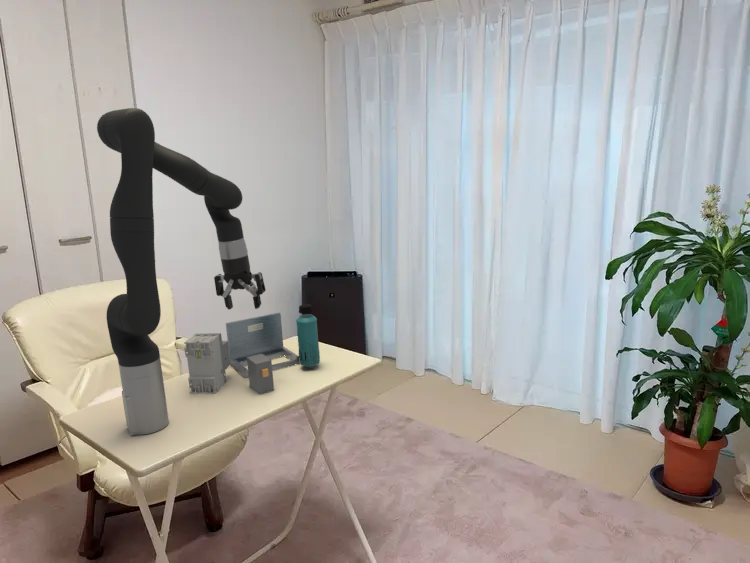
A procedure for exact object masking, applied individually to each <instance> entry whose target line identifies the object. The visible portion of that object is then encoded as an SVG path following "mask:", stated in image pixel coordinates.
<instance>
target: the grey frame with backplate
mask: <svg viewBox="0 0 750 563" xmlns="http://www.w3.org/2000/svg"><path fill="white" fill-rule="evenodd" d="M281 314H282V313H281V312H275V313H270V314H265V315H261V316H255V317H248V318H245V319H239V320H234V321H230V322H225V329H226V338H227V340H226V341H228V346H229V355H230V365H229V367H230V366H231V367H232V368H233V369H234V370H235V371H236V372H238V374H240V375H241V376H242V377H243V378H245V379H246V378H249V374H248V364H247V357H249V356H254V355H258V354H263V355H265V356H266V357H267V358H269V359H272V360H274V359H273V358H276V359H278V358H277V357H280V356H284V355H285V356H286V357H287V358H286V357H285V356H284V357H285V358H286V359H288V358H289V359H290V360H289V359H288V360H287V361H283V362H279V363H274V364H272V372H273V370H274V371H278V370H281V369H284V367H285V368H287V367H288V366H289V367H293V366H296V365H295V364H297V365H301V364H300V361H299V360H300V358H299V354H296V353H294V352H293V351H291V350H290V349H288V348H287V347H285V346H284V341H283V340H284V337H283V327H282V315H281ZM280 358H281V357H280ZM292 365H293V366H292ZM246 366H247V367H246ZM280 368H281V369H280ZM277 369H278V370H277Z"/></svg>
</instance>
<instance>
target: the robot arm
mask: <svg viewBox="0 0 750 563" xmlns="http://www.w3.org/2000/svg"><path fill="white" fill-rule="evenodd" d="M96 132H97V135H98V137H99V139H100V141H101V142H102V143H103V144H104V145H105V146H106V147H108V148H109V149H111V150H113V151H115V152H117V153H120V158H121V159H120V160H121V170H120V171H121V172H120V175H119V176H120V177H119V181H118V184H117V186H116V189H115V191H114V194H113V196H112V199H111V203H110V208H109V231H110V239H111V244H112V245H113V248H114V251H115V254H116V256H117V259H118V260H119V262H120V264H121V266H122V269H123V272H124V277H125V282H126V293H121V294H118V295H116V296H115V297H113V298H112V299H111V300H110V301H109V304H108V306H107V309H106V324H107V329H108V330H107V331H108V334H109V340H110V343H111V347H112V348H111V349H112V351H113V353H114V355H115V356H116V358H117V361H118V370H119V376H120V382H121V383H120V384H121V389H122V391H121V397H122V403H123V410H124V416H125V421H126V422H125V423H126V427H127V430H128V431H129V434H130V436H131V437H132V436H136V435H148V434H153V433H156V432H159V431H161V430H163V429H164V428H166V427H167V426H168V425H169V423H170V420H169V419H170V418H169V413H168V406H167V404H168V403H167V399H166V390H165V382H164V377H163V376H164V375H163V370H162V363H161V361H162V360H161V354H160V349H159V346H158V344H157V343H155V342H154V341H153V340H152V339H151V337H150V335H151V334H152V333H154V332H155V330H156V329H157V328H158V326H159V324H160V321H161V315H162V314H161V313H162V311H161V302H160V295H159V288H158V283H157V282H158V280H157V274H156V273H157V272H156V253H155V251H156V249H155V218H154V214H155V213H154V200H153V197H154V196H153V195H154V194H153V191H154V190H153V188H154V185H153V171H154V170H156V171H157V172H159V173H161V174H162V175H164V176H166V177H168V178H169V179H171V180H173V182H174V181H175V182H176V183H178V184H179V185H181V186H182V187H183V188H185V189H187V190H188V191H190V192H192V193H194V194H195V195H198V196H202V197H203V199H204V201H203V202H204V205H205V206H206V207H205V208H206V210H207V211H208V214H209V216H210V218H211V220H212V222H213V224H214V227H215V231H216V238H217V241H218V242H217V243H218V251H219V256H220V262H221V267H222V272H223V274H221V273H218V274H217V275H215V276H214V277H213V280H214V287H215V292H216V295H217V296H218V297H219V296H220V297H222V298H223V300H224V304H225V308H226V309H227V310H232V309H233V307H234V305H233V299H232V295H230V294H231V293H232V291H233V290H234V291H235V290H246V292H249V293H250V294H251V295H252V300H253V305H254V309H255V310H258V309H259V308H261V305H262V299H261V295H263V294H264V293H265V292H266V290H267V288H266V286H265V282H264V277H263V273H262V272H261V271H259V272H257V273H252V272H251V265H250V260H249V259H250V258H249V254H248V248H247V244H246V240H245V236H244V231H243V225H242V221H241V219H240V218H239V217H236V216H234V215H233V214H231V212H230V210H235V209H238V208H239V207H240V206H241V204H242V202H243V194H242V191H241V188H239V186H237V185H236V184H235V183H234V182H232V181H231V180H228V179H226V178H224V177H222V176H221V175H218V174H216V173H213V172H211V171H210V170H208V169H207V168H206V167H204V166H203V165H201V164H199V163H198V162H197V161H195V160H194V159H193V158H191V157H188V156H187V155H184V154H183V153H180V152H179V151H178V152H177V151H175V150H173V149H171V148H169V147H166V146H163V145H161V144H160V143H158V142H156V141H155V140H156V134H155V133H156V132H155V127H154V123H153V120H152V119H151V117H150V115H149V114H148V113H147V112H146V111H144V110H143V109H141V108H138V107H128V108H122V109H115V110H111V111H108V112H105V113H103V114H102V115H101V116H100V117H99V118H98V121H97V124H96ZM153 169H154V170H153ZM252 279H253V281H254V282H255V283H254V282H253V281H252ZM224 282H226V283H227V285H226V287H224Z"/></svg>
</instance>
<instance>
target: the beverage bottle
mask: <svg viewBox="0 0 750 563" xmlns="http://www.w3.org/2000/svg"><path fill="white" fill-rule="evenodd" d="M298 313H299V314H301V315H300V316H298V317H297V318H296V334H297V336H296V337H297V341H298V342H297V344H298V345H297V346H298V356H299V359H300V360H299V361H300V364H299V365H301V366H302V367H314V366H315V367H316V366H318V365H319V364H320V362H321V356H320V355H321V354H320V353H321V352H320V342H319V335H318V323H317V322H318V318H317V317H316V316H315V315H313V314H312V313H313V306H312V304H309V303H308V304H307V303H306V304H305V303H304V304H301V305H299V306H298ZM310 313H311V314H310Z"/></svg>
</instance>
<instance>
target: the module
mask: <svg viewBox="0 0 750 563" xmlns="http://www.w3.org/2000/svg"><path fill="white" fill-rule="evenodd" d="M247 364H248V366H247V369H248V374H249V377H248V384H249V388H250V389H252V390H253V391H254V392H255V393H256V394H257V395H259V396H260V395H264V394H267V393H271V392H273V391H275V384H274V375H273V373H274V372H273V371H272V365H273V363H272V360H270V359H269V358H267V357H266V356H265V355H263V354H258V355H254V356H249V357H247Z"/></svg>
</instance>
